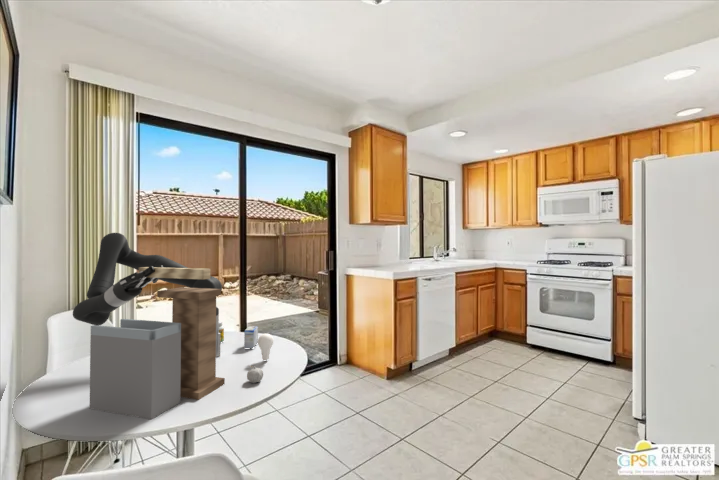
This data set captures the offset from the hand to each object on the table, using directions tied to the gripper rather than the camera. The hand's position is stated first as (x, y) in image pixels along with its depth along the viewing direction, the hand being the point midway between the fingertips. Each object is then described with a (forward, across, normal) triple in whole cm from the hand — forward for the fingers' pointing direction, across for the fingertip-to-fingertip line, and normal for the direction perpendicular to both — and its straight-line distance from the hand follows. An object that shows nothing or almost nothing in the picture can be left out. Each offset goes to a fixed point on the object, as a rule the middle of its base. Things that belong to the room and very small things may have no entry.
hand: (158, 268), depth 114 cm
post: (-8, 0, +40) cm, 41 cm away
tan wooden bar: (+4, 0, +6) cm, 7 cm away
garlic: (+7, +10, +49) cm, 51 cm away
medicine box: (-14, +45, +37) cm, 60 cm away
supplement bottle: (-31, +47, +28) cm, 63 cm away
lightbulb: (+1, +30, +46) cm, 54 cm away
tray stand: (-13, -14, +37) cm, 42 cm away
